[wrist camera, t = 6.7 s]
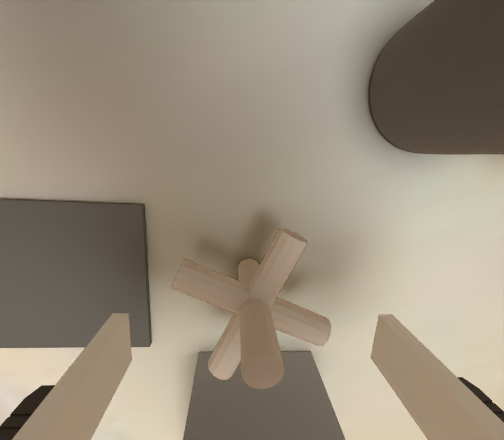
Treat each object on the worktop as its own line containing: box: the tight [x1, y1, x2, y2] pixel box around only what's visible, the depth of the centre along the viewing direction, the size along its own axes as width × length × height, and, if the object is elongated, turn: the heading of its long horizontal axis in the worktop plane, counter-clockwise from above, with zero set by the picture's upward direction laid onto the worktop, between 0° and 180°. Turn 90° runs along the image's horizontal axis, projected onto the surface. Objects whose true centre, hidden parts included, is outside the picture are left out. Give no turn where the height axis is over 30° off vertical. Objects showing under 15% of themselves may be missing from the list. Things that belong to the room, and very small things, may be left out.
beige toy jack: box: [171, 227, 331, 389], centre depth 15 cm, size 10×10×10 cm
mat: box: [0, 199, 152, 348], centre depth 19 cm, size 12×12×1 cm
